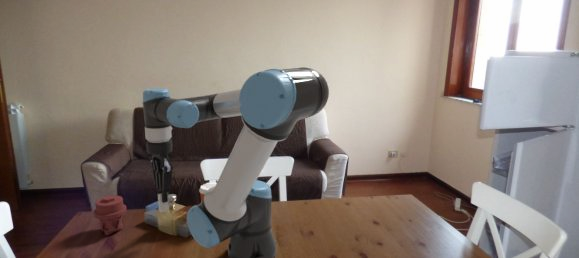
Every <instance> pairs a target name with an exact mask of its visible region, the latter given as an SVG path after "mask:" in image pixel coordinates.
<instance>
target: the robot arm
mask: <svg viewBox="0 0 579 258" xmlns="http://www.w3.org/2000/svg"><path fill="white" fill-rule="evenodd" d="M329 88H330V87H329V85H328V82H327V80H326V78H325V77H324V76H323V75H322V74H321V73H320V72H319V71H317V70H315V69H313V68H311V67H304V66H303V67H302V66H301V67H293V68H284V69H278V68H269V69H265V70H263V71H258V72H255V73H253V74H252V75H250V76H248V78H247V79H246V80H245V81H244V83H243V85H242V87H241V88H240V89H235V90H229V91H224V92H219V93H213V94H208V95H207V94H206V95H202V96H201V95H200V96H191V97H185V98H171V95H170V91H169V89H166V88H161V87H160V88H159V87H158V88H157V87H156V88H148V89H144V90H143V91H142V107H143V108H142V111H143V119H144V137H145V140H146V143H145V145H146V152H147V154H149V155H152V156H149V157H148V159H149V164H150V167H151V174H152V179H153V186H154V188H155V189H156V191H157V201H158V205H159V207H158V210H159V211H160V212H164V211H167V210H169V202H168V195H169V193H170V192H172V180H173V179H172V177H173V176H172V175H173V170H174V165H173V164H169V163H170V159H169V153H172V151H173V139H172V137H173V136H172V135H173V134H172V130H173V127H172V126H174V127H175V128H179V129H181V128H184V129H190V128H192V127H193V126H195V124H197V123H200V122H205V121H210V120H216V119H218V120H219V119H223V118H233V117H239V116H241V117H240V118H241V122H242V123H243V126H242V128H241V131H240V133H239V135H238V137H237V139H236V141H235V143H234V145H233V148H232V150H231V151H230V154H229V156H228V158H227V160H226V163H225V164H224V166H223V170H222V171H221V173H220V176H219V178H218V180H217V182H216V183H217V184H216V186H214V187H212V188H210V189H209V190H208V191H207V192H206V193H205V196H204V198H203V200H202V202H201V201H200V203H199V204H196V205H193V206H192V207H190V208H189V209H188V211H186V212H187V224H188V227H189V230H190V232H191V237H193V239H194V241H196V243H197V244H198V245H200V247H203V248H207V249H211V248H213V247H215V246H219V245H220V243H223V242H224V241H227V240H228V239H229V241H228V246H227V256H228V258H276V255H277V249H278V247H277V246H278V244H277V242H276V239H275V236H274V232H273V230H272V198H273V196H272V189H271V186H270V184H268V183H267V182H265V181H261V180H259V179H258V178H259V176H260V174H261V173H262V171H263V170H264V167H265V165H266V164H267V162H268V160H269V158H270V157H271V155H272V153H273V152H274V150H275V147H276V146H277V144H278V142H282V141H285V140H287V138H288V137H289V136H290V134H291V133H292V131H293V129H294V127H295V126H296V124H297V122H298V121H300V120H304V119H307V118H310V117H314V116H315V115H318V113H319V114H320V112H321V111H322V110H324V108H325V107H326V105H327V103H328V100H329V96H330V90H329Z"/></svg>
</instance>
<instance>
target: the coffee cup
mask: <svg viewBox="0 0 579 258" xmlns="http://www.w3.org/2000/svg"><path fill="white" fill-rule="evenodd" d="M216 184H217V182H216V181H214V182H205V183H203V184H201V185H200V188H199V189H198V192H199V193H200V200H201V201H200V203H201V202H202V200H203V198H204V196H205V193H206V192H207V191H208V190H209V189H210V188H212V187H214V186H216Z"/></svg>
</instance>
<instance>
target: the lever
mask: <svg viewBox="0 0 579 258" xmlns="http://www.w3.org/2000/svg"><path fill="white" fill-rule="evenodd" d="M173 201H174V202H176V201H177V194H175V193H171V194H170V193H169V194H168V203H169V202H173ZM154 209H156V210H157V209H159V205H158V200H157V201H155V202H152V203H150V204H148V205H145V212H147V211H149V212H150V211H152V210H154Z"/></svg>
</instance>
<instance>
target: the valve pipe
mask: <svg viewBox="0 0 579 258" xmlns="http://www.w3.org/2000/svg"><path fill="white" fill-rule="evenodd" d="M168 203H169V210H167V211H164V212H160V211H159V209H157V208H156V209H154V210H152V211H150V212H149V211H145V212H143V213H144V223H145V224H147V225H149V224H150V226H153V227H154V228H158V231H160V232H162V233H165V234H168V235H171V236H174V235H175V237H177V236H180V237H183V238H188V237H190V236H192V234H191V232H190V230H189V227H188V224H187V212H188V211H187V209H186V206H185V205H182V204H179V203H176V201H173V202H168Z"/></svg>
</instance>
